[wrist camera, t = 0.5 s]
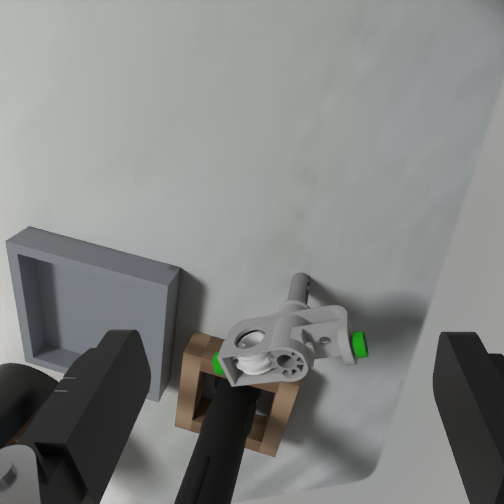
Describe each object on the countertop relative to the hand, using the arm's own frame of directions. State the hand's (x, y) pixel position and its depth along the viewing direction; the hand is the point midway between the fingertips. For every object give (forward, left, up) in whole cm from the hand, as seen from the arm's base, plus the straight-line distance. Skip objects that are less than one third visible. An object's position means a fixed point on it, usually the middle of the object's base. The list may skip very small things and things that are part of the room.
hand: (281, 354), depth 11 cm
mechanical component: (+11, +1, -21) cm, 24 cm away
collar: (+26, -2, -21) cm, 33 cm away
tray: (+21, -17, -21) cm, 34 cm away
